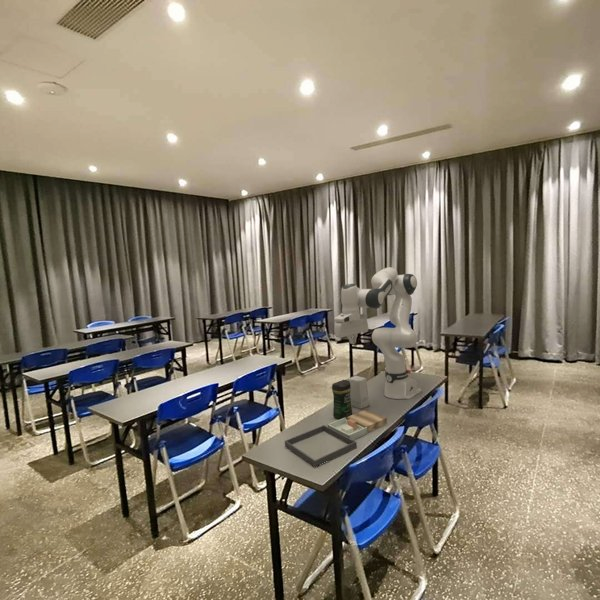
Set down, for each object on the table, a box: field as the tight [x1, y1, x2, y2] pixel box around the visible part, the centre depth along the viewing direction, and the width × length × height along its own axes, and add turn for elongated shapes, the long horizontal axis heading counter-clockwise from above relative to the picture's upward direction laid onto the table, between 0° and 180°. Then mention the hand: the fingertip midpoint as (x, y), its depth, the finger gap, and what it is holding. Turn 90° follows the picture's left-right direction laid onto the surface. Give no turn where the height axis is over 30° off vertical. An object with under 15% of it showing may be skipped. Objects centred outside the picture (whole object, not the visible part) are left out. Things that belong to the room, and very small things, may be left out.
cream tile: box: [341, 425, 354, 434], centre depth 167 cm, size 4×4×2 cm
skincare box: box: [347, 375, 370, 410], centre depth 195 cm, size 8×7×16 cm
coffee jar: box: [331, 379, 353, 420], centre depth 183 cm, size 10×8×19 cm
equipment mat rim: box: [284, 424, 358, 468], centre depth 156 cm, size 22×22×2 cm
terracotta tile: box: [346, 419, 357, 431], centre depth 169 cm, size 4×4×2 cm
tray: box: [327, 418, 368, 441], centre depth 167 cm, size 11×15×3 cm
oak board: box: [346, 409, 388, 434], centre depth 174 cm, size 13×14×3 cm
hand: (352, 343), depth 183 cm, fingers closed
